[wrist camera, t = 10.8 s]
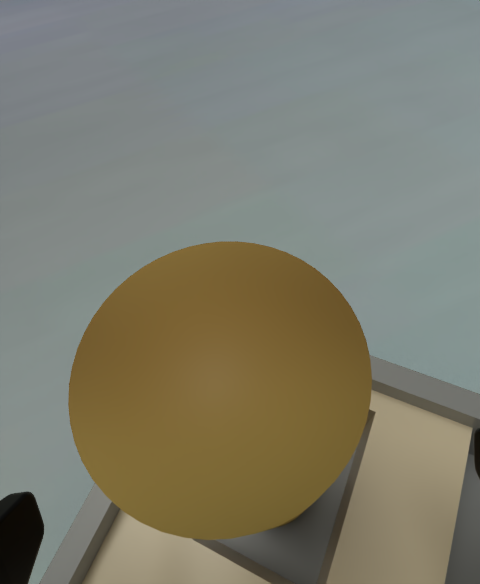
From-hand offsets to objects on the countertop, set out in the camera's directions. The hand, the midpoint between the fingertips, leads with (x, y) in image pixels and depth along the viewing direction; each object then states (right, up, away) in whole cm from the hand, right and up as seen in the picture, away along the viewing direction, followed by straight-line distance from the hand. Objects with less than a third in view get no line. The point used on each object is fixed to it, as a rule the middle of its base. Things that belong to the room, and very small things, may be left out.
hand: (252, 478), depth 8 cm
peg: (+1, -3, +8) cm, 9 cm away
